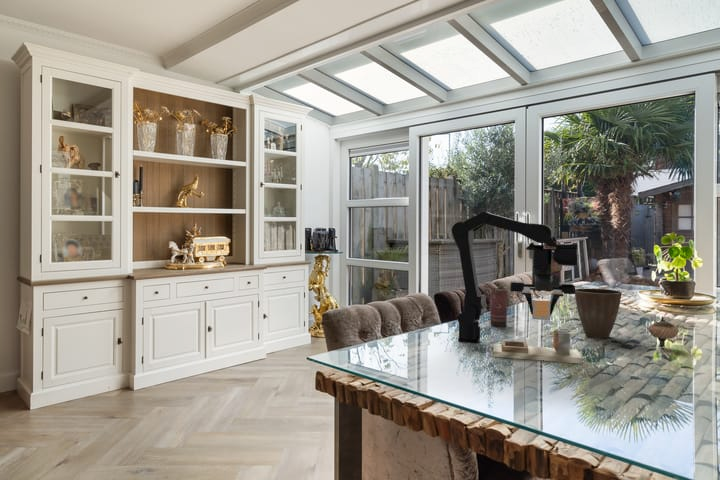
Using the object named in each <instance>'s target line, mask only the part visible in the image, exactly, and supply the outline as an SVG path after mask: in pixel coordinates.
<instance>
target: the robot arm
mask: <svg viewBox="0 0 720 480" xmlns="http://www.w3.org/2000/svg"><path fill="white" fill-rule="evenodd" d="M486 225H487V226H491V227H492V226H493V227H496V228H498V229H502V230H506V231H508V232H509V231H510V232H513V233H517V234H520V235H522V236H524V237H526V238H527V239H530V240H532V241H534V242H536V243H537V244H535V243H534V242H530V244H528V246H527V247H525V250H526V251H532V258H531V259H532V261H531V262H532V264H531V266H532V267H531V268H532V271H531V283H524V281H521V280H511V281H510V283H509V291H510V292H517V293H520V294H521V295H523V296H524V298H526V302H527V304H528V307H529V311H530V315H531V316H532V315H533V306H532V299H533V298H532V292H531V291H537V292H549V293H550V292H551V294H550V299H549V300H550V317H551V316H552V314H553V312H554V310H555V306H556V304H557V302H558V300H559V299H560V298H561V297H564V294H565V295H575V289H576V286H575V285H574V284H573V283H571V282H561V281H560V280H561V277H560V275H559V274H553V262H554V263H556V264H557V266H560V267H561V266H562V267H563V266H565V267H579V259H580V255H579V247H578V246H579V245H578V243H569V244H568V243H559V241H558V240H557V239H556V237H555V236H554V235H555V234H554V230H553V228H552V227H551V226H550V225H548V224H543V223H541V224H539V223H531V222H529V223H528V222H523V221H519V220H515V219H513V218H509V217H504V216H501V215H498V214H493V213H491V212H488V211H481V212H480V213H478V214H477V215H475V216H472V217H471V218H468V219H467V220H465V221H458V222H455V223H454V224H453V226H451V235H452V237H453V240H454V243H455V244H456V247H457V249H458V252H459V257H460V263H461V271H462V278H463V285H464V289H465V294H464V298H463V311H462V312H460V313H459V314H458V315H457V316H456V320H457V322H458V338H457V341H458V342H464V343H465V342H466V343H467V342H468V343H479V341H480V340H481V326H480V325H479V320H480V319H481V317H482V316H483V315H485V313H486V311H487V307H488V304H487V296H486V295H487V294H482V293H481V291H480V288H479V282H478V278H477V270H476V263H475V258H474V250H473V245H474V240H475V238H474V235H475V232H477V231H479V230H480V229H481V228H483V227H485V226H486ZM546 246H547V247H550V248H546ZM551 247H552V248H551ZM554 247H555V248H554Z"/></svg>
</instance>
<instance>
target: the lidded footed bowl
mask: <svg viewBox="0 0 720 480" xmlns="http://www.w3.org/2000/svg"><path fill="white" fill-rule="evenodd" d="M647 331H648V332H649V333H650V335H651V336H653V338H657V340H658V342H659V343H658V346H659V348H662V349H663V348H666V345H665V344H666V340H669V339H674V338H676V337H677V335H678V334H679V328H678V326H676V325H674V324H672V323H671V322H669V321H666V320H665V319H664V316H661V319H660V321H657V322H654V323H652V324H649V326H648V327H647Z"/></svg>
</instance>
